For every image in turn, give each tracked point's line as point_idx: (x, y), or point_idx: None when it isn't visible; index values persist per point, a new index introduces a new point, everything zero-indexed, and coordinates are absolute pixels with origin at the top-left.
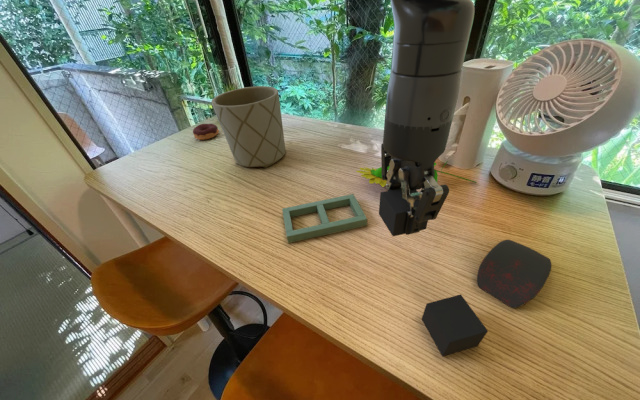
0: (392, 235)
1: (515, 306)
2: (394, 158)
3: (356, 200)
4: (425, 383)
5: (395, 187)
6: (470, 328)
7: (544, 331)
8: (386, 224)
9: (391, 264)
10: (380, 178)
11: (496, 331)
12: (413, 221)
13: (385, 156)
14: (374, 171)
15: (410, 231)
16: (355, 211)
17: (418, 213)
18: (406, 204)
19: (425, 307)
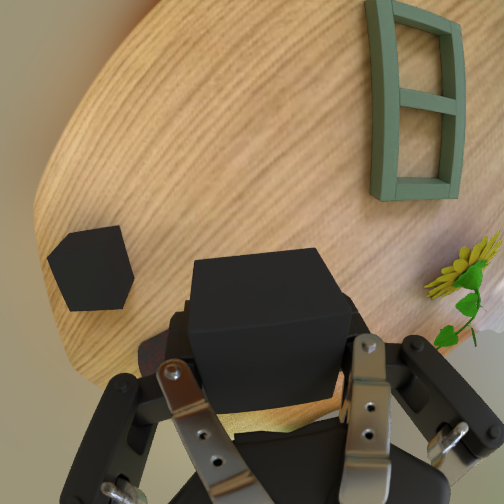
0: (196, 261)
1: (139, 349)
2: (395, 489)
3: (439, 198)
4: (40, 198)
5: (348, 363)
6: (68, 293)
7: (114, 353)
8: (248, 258)
9: (244, 210)
10: (461, 272)
11: (107, 312)
12: (166, 357)
13: (458, 426)
14: (481, 266)
15: (174, 320)
16: (412, 182)
17: (110, 410)
18: (198, 390)
19: (105, 244)
